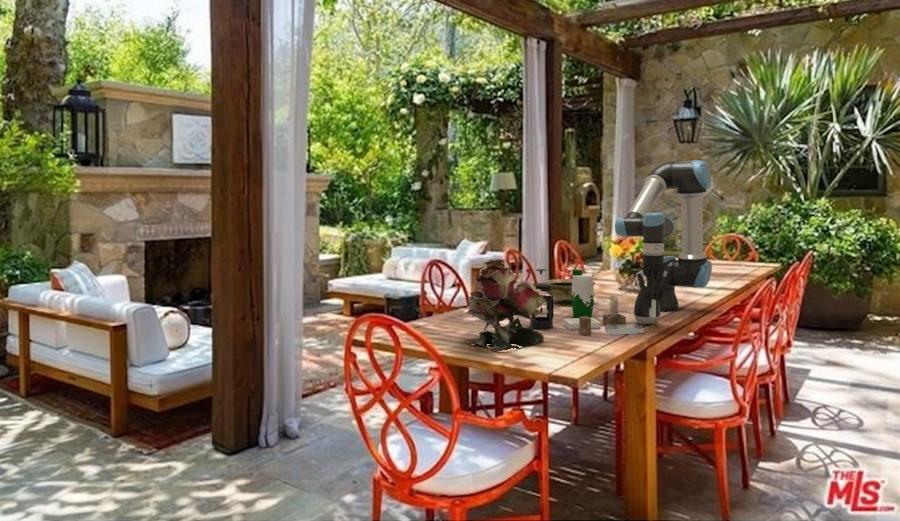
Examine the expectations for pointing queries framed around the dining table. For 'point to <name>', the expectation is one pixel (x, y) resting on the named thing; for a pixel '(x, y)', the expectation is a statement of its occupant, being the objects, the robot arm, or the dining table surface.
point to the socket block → (613, 319)
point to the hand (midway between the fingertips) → (652, 316)
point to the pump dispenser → (644, 310)
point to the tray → (574, 323)
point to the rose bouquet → (504, 306)
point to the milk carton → (582, 294)
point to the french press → (543, 321)
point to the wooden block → (585, 325)
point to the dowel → (613, 305)
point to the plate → (624, 329)
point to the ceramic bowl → (561, 289)
